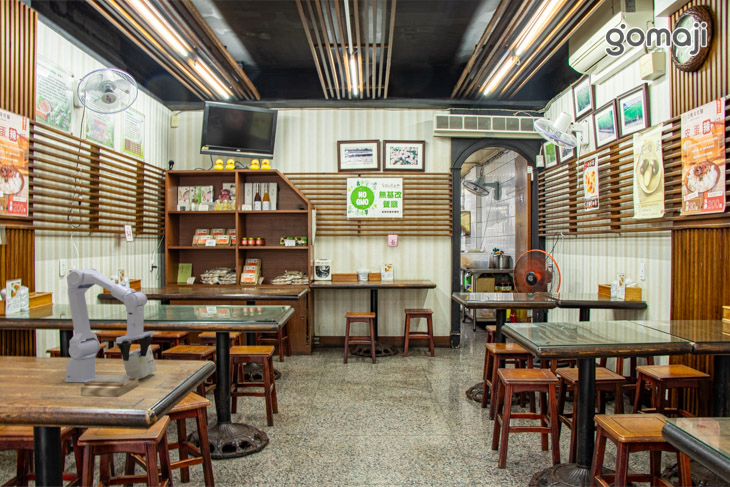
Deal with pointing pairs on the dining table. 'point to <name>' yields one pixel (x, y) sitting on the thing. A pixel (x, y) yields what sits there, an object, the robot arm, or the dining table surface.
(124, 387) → the slide box
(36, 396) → the dining table surface
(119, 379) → the cover plate
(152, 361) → the light bulb box
